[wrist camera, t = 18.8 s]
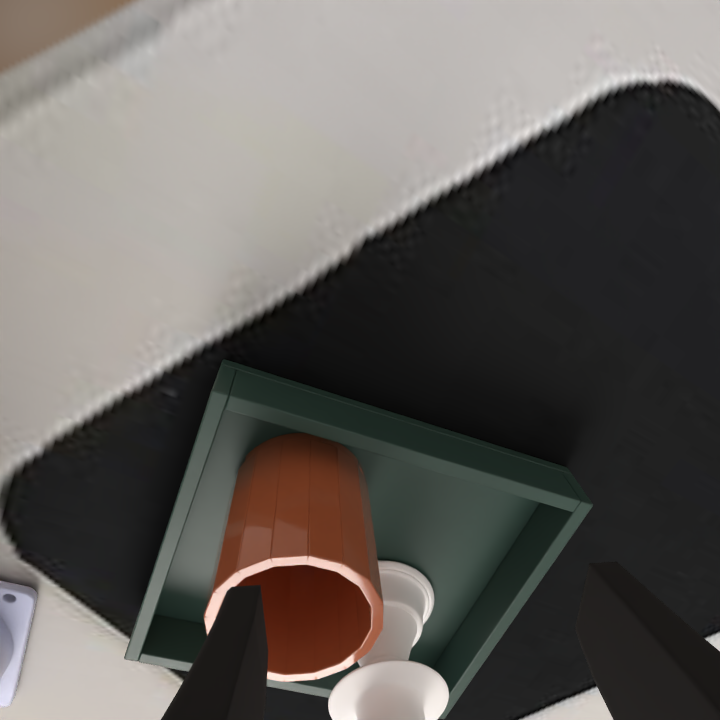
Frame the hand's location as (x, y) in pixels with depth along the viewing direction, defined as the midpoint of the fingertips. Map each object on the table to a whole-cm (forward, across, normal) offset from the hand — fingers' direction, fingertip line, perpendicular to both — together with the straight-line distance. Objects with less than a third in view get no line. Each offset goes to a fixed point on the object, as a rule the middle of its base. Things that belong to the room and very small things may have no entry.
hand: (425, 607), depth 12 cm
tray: (+10, +1, +8) cm, 13 cm away
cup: (+10, +3, +4) cm, 11 cm away
